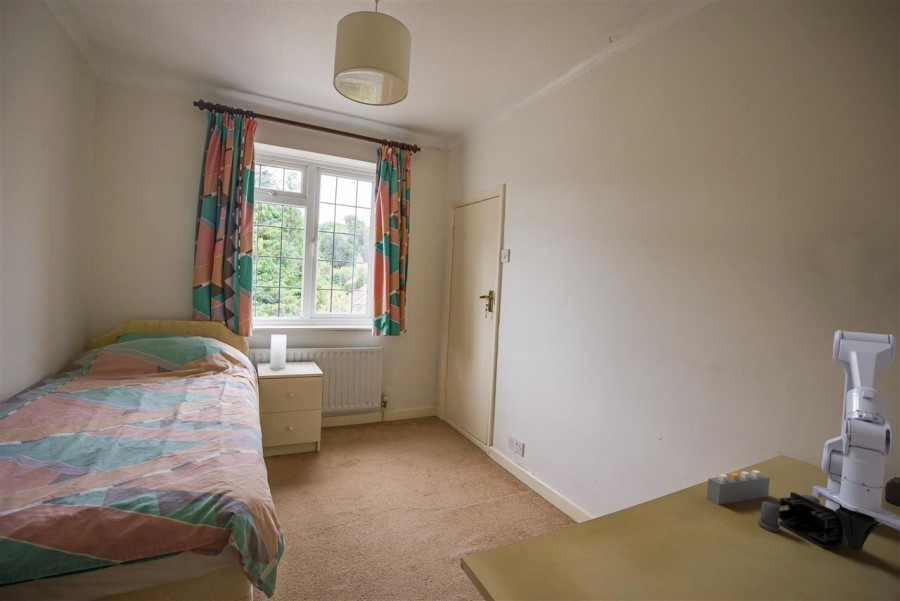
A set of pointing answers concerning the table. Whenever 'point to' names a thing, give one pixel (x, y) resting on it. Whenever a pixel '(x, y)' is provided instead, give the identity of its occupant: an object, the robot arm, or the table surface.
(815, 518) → the end cap
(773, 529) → the gray rounded knob
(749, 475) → the breaker strip
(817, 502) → the dark grey cylinder
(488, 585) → the table surface
